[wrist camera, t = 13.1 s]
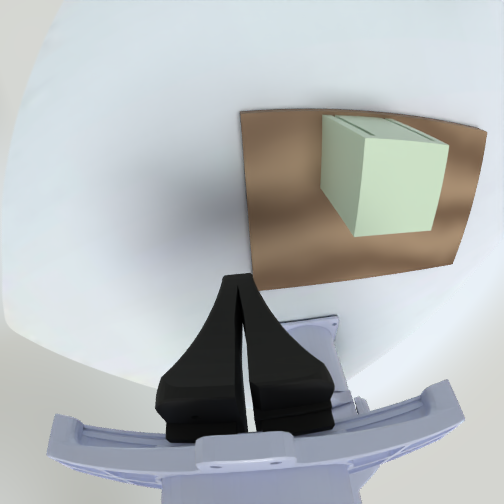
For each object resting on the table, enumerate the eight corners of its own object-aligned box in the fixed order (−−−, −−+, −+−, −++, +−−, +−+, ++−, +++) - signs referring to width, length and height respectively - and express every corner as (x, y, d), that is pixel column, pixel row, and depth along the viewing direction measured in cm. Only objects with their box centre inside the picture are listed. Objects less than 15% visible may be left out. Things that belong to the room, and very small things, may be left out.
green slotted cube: (384, 185, 20) (430, 230, 15) (320, 187, 20) (353, 237, 15) (391, 118, 17) (449, 145, 12) (322, 114, 17) (364, 137, 12)
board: (447, 257, 27) (452, 264, 26) (253, 282, 26) (254, 291, 25) (478, 128, 18) (487, 132, 17) (240, 111, 18) (240, 113, 17)
